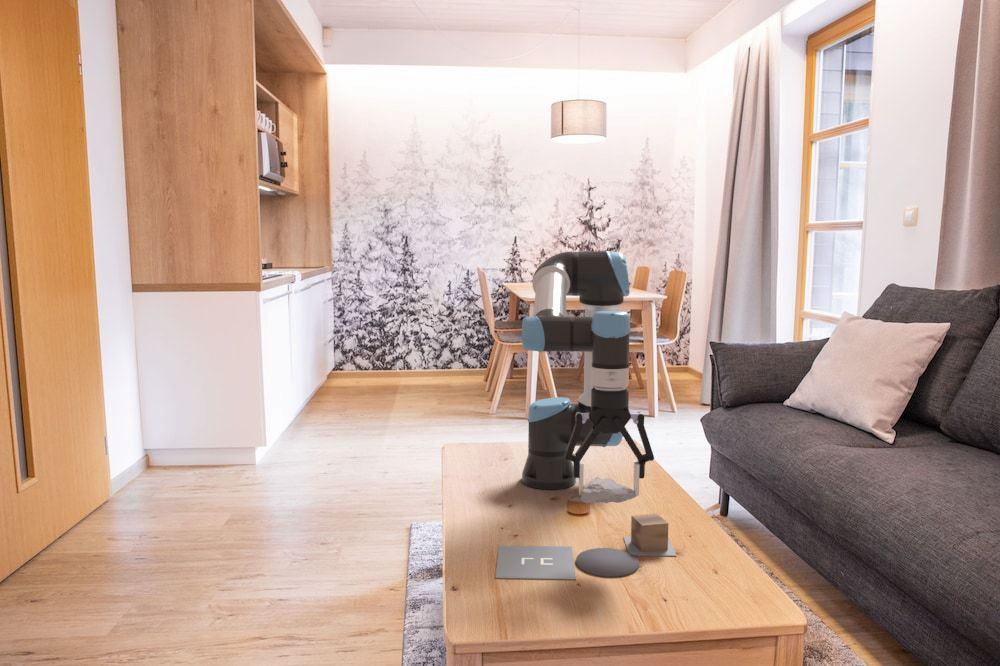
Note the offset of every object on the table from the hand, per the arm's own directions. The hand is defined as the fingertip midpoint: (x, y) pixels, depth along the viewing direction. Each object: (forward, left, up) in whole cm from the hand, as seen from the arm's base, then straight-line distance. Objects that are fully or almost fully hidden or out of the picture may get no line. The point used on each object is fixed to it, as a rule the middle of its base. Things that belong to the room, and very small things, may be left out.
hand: (608, 493), depth 152 cm
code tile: (0, -15, -15) cm, 21 cm away
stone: (0, +1, -1) cm, 1 cm away
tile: (-9, +10, -15) cm, 20 cm away
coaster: (0, 0, -15) cm, 15 cm away
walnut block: (-9, +10, -15) cm, 20 cm away
